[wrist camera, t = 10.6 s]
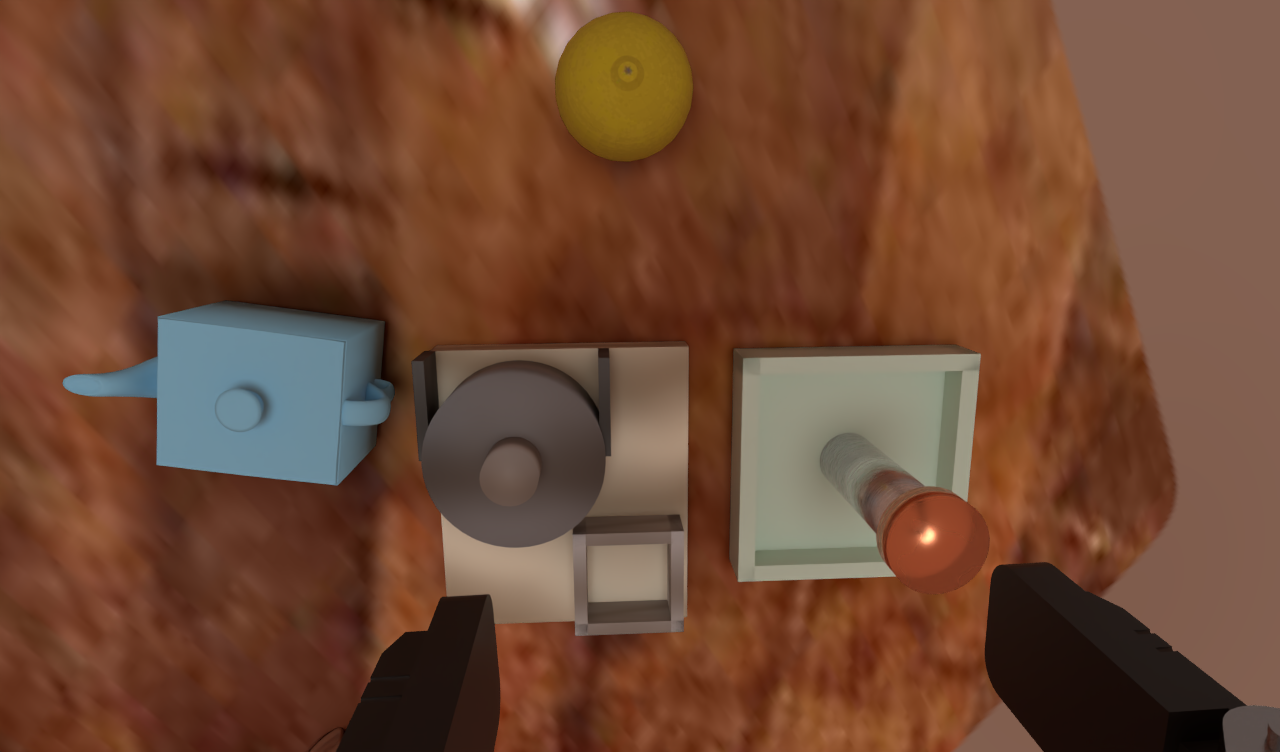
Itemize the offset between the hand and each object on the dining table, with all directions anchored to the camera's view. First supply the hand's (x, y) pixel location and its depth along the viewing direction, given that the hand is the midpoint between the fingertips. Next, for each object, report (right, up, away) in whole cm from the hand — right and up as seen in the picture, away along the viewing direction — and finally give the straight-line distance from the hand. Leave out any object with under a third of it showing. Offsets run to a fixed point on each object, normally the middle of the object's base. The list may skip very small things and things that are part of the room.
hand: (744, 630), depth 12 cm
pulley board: (-5, -1, +26) cm, 26 cm away
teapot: (-18, +4, +24) cm, 31 cm away
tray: (+9, 0, +26) cm, 28 cm away
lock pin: (+9, 0, +25) cm, 27 cm away
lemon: (-2, +16, +22) cm, 28 cm away
